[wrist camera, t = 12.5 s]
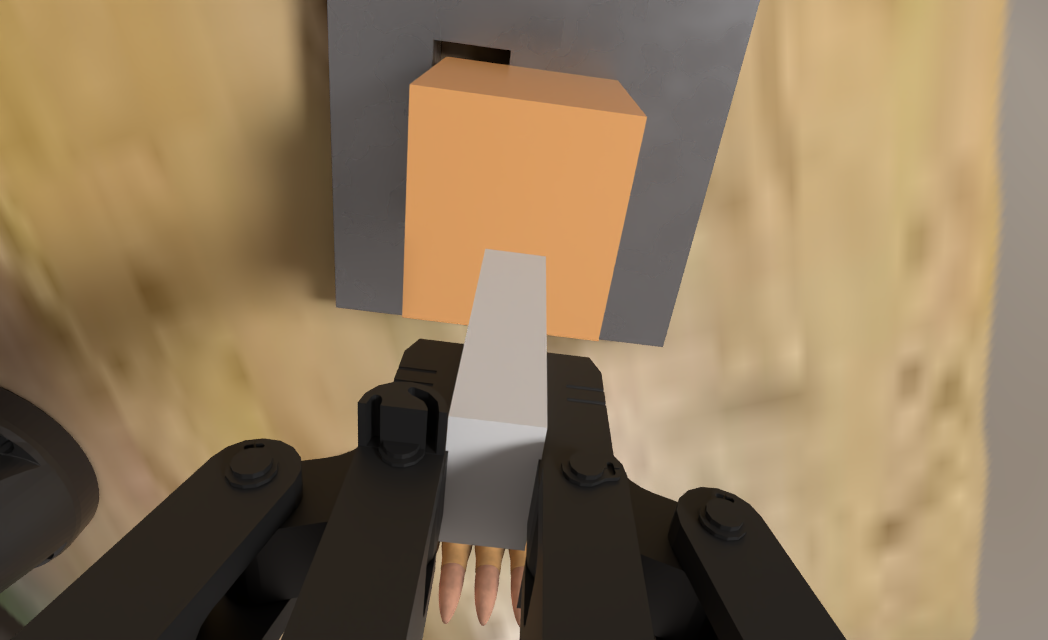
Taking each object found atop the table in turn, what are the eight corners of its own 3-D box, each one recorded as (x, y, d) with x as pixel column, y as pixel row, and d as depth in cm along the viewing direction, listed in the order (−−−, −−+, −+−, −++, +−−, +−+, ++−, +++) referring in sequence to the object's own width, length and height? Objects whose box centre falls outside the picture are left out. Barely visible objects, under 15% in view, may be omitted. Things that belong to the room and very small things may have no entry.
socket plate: (349, 286, 33) (336, 307, 31) (343, -84, 25) (324, -90, 23) (655, 324, 34) (662, 346, 32) (748, -24, 25) (766, -25, 23)
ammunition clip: (402, 456, 39) (351, 630, 28) (401, 434, 38) (347, 605, 27) (568, 465, 39) (578, 642, 28) (570, 442, 38) (582, 617, 27)
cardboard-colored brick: (441, 222, 31) (402, 317, 22) (452, 51, 27) (409, 84, 18) (582, 240, 31) (598, 341, 22) (612, 74, 27) (647, 117, 18)
